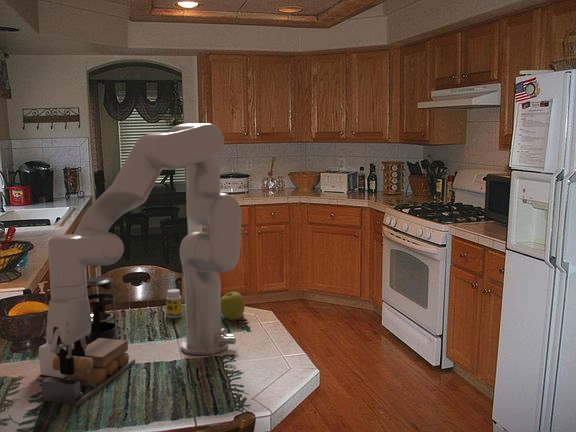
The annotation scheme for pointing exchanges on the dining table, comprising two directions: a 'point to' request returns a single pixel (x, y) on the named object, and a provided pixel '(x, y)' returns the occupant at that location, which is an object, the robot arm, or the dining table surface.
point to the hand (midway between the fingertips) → (73, 369)
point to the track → (99, 376)
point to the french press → (101, 310)
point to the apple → (232, 305)
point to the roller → (77, 364)
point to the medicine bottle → (48, 361)
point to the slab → (105, 350)
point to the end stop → (61, 390)
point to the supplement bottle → (173, 303)
